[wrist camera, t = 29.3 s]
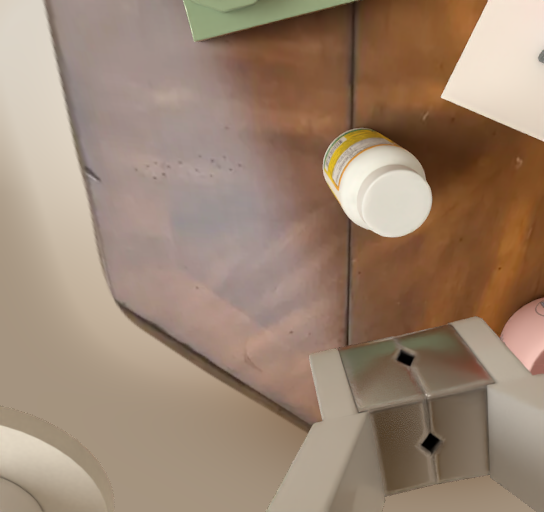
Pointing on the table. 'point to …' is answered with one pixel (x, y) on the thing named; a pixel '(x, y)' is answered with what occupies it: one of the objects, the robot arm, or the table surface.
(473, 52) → the thin white square mat
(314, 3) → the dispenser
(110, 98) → the table surface
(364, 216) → the supplement bottle
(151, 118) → the table surface
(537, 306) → the mug
